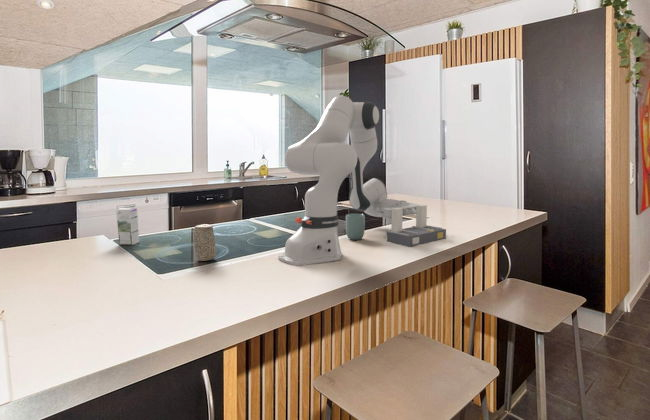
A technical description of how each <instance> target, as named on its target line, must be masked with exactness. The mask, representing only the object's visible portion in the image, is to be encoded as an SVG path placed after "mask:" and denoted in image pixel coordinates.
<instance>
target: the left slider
mask: <svg viewBox="0 0 650 420" xmlns="http://www.w3.org/2000/svg"><path fill="white" fill-rule="evenodd" d="M402 214H403V209H402V208H392V219H391V223H390V224H391V225H390V226H391V228H390V231H394V232H400V231H402V229H403V216H402Z"/></svg>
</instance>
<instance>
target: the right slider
mask: <svg viewBox="0 0 650 420" xmlns="http://www.w3.org/2000/svg"><path fill="white" fill-rule="evenodd" d="M427 209H428V205H427V204H419V205H416V214H415V217H416V218H415V226H417V227H426V225H427V220H428V219H427V218H428V217H427V216H428V210H427Z"/></svg>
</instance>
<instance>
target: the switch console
mask: <svg viewBox="0 0 650 420" xmlns="http://www.w3.org/2000/svg"><path fill="white" fill-rule="evenodd" d="M446 239H447V229H446V228H442V227H438V226H432V225H428V224H426V227H417V226H416V225H412V226H411V227H407V228H405V227H404V228H402V231H400V232H394V231H391V230H387V231H386V243H391V244H395V245H400V246H404V247H409V248H412V247H417V246H419V245H420V246H421V245H425V244H430V243H434V242H438V240H439V241H441V240H442V241H443V240H446Z"/></svg>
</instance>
